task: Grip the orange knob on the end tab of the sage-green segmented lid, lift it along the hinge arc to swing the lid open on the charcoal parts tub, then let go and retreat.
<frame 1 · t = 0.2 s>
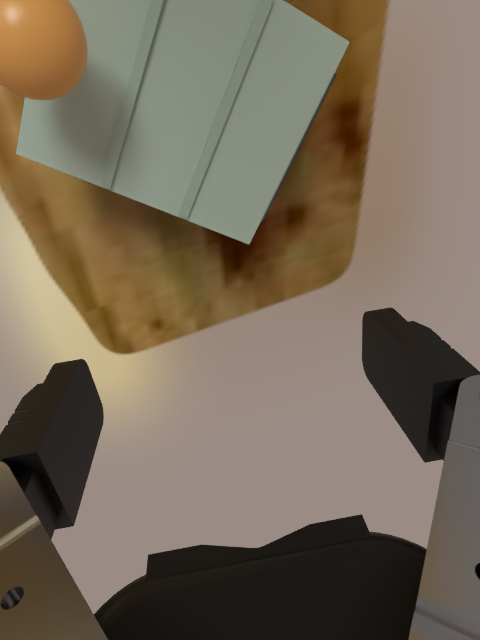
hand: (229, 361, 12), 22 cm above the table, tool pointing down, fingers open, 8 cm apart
lid: (158, 96, 18), point 11 cm above the table, hinge at 0.0°
parts tub: (183, 88, 27), on the table
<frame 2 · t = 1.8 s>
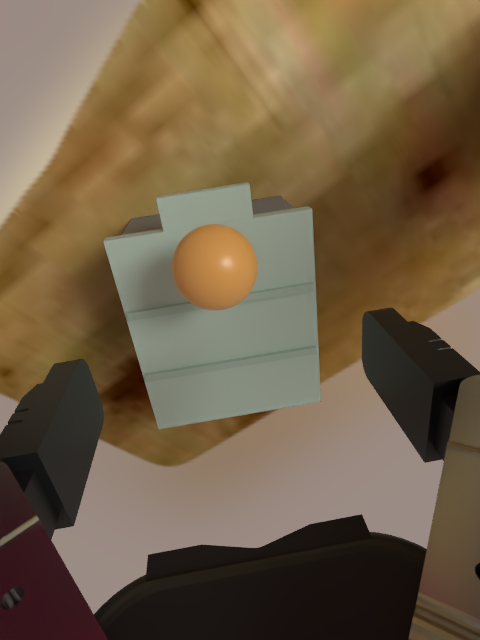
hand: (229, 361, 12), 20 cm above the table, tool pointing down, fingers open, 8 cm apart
lid: (227, 341, 22), point 11 cm above the table, hinge at 0.0°
parts tub: (219, 288, 32), on the table
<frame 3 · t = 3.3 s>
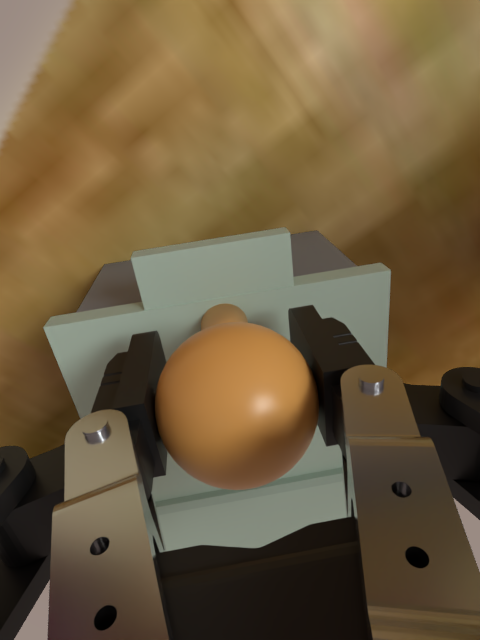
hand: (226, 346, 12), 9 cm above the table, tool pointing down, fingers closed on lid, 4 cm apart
lid: (251, 488, 14), point 11 cm above the table, hinge at 0.0°, touching gripper
parts tub: (229, 354, 23), on the table
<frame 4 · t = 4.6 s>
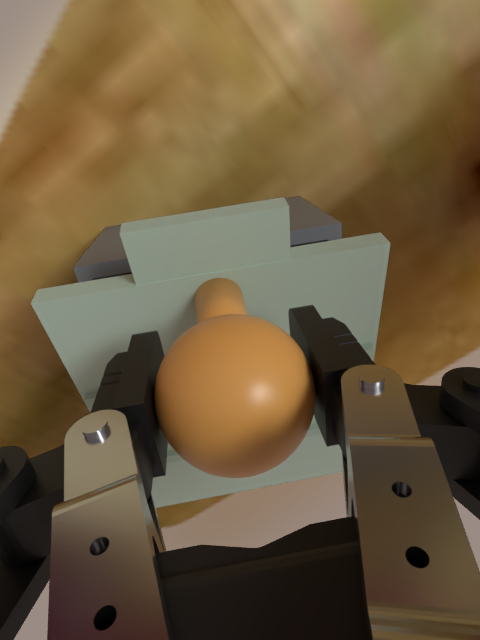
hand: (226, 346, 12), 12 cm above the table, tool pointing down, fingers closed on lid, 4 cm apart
lid: (245, 451, 14), point 12 cm above the table, hinge at 12.4°, touching gripper
parts tub: (221, 314, 25), on the table
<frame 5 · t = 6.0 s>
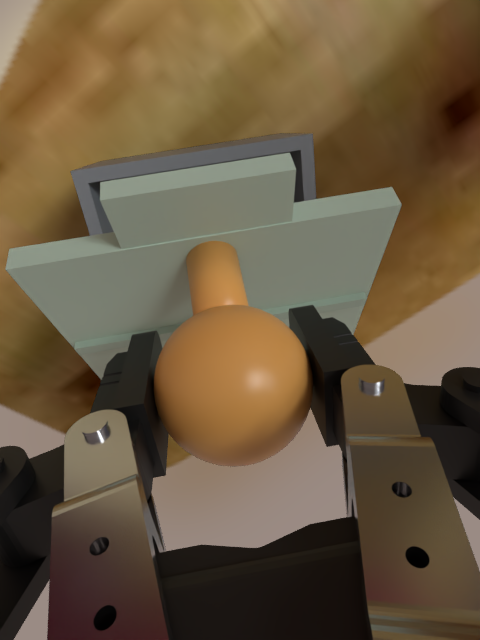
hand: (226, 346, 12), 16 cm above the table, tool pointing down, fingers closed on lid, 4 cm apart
lid: (236, 397, 15), point 14 cm above the table, hinge at 32.4°, touching gripper
parts tub: (210, 250, 27), on the table
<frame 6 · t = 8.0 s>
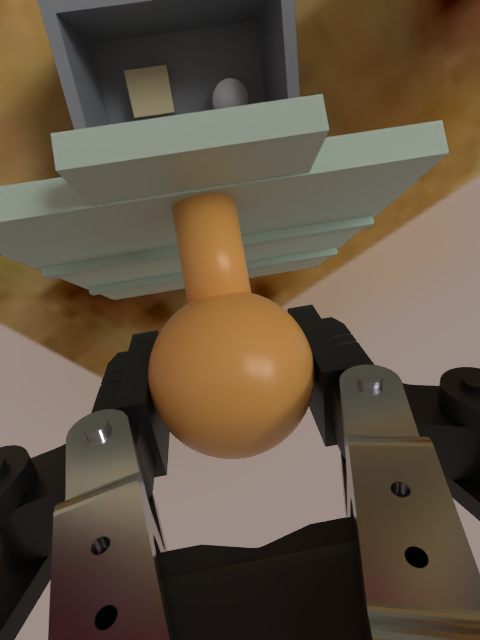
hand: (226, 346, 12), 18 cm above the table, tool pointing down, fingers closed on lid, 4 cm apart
lid: (223, 322, 15), point 16 cm above the table, hinge at 61.2°, touching gripper
parts tub: (193, 142, 26), on the table
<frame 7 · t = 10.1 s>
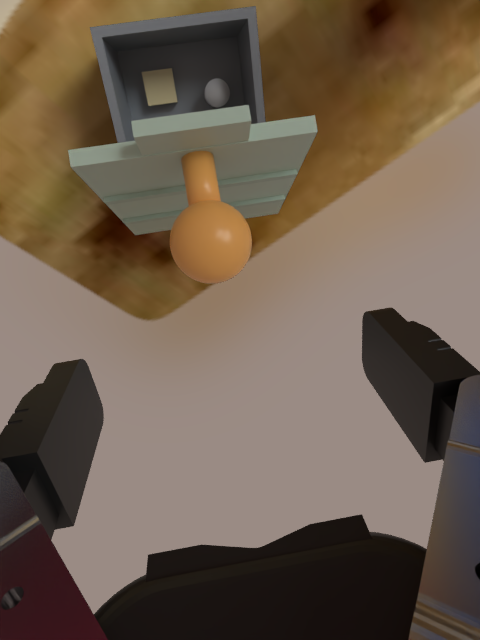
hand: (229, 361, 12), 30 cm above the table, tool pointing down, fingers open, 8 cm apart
lid: (209, 235, 25), point 16 cm above the table, hinge at 62.2°
parts tub: (190, 124, 36), on the table
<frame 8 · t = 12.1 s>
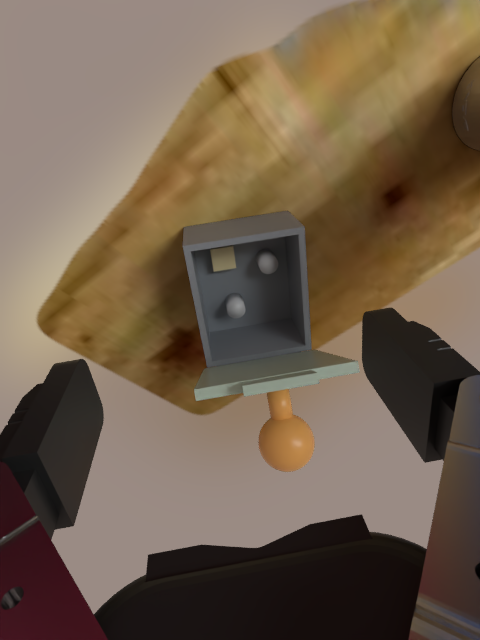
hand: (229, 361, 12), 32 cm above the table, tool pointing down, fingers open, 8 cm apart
lid: (274, 407, 34), point 16 cm above the table, hinge at 62.2°
parts tub: (243, 276, 45), on the table
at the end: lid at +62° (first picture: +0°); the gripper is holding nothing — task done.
